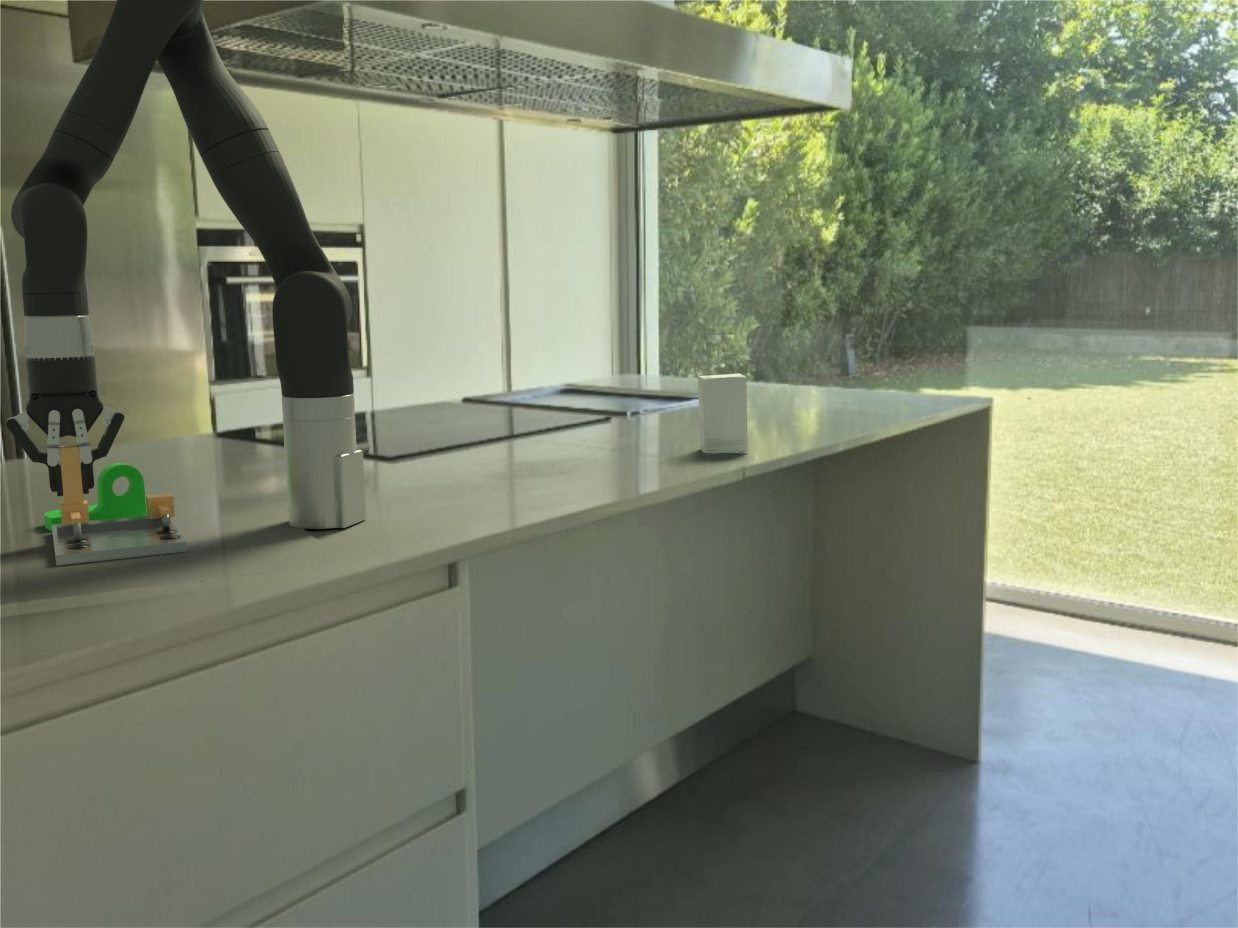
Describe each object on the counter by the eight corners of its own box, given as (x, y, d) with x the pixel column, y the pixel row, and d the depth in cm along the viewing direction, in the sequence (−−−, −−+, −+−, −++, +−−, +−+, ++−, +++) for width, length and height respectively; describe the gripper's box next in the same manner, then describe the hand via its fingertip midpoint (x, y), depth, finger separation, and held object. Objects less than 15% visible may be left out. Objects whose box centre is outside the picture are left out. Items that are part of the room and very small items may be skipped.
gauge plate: (168, 522, 151) (165, 486, 151) (187, 551, 134) (184, 510, 133) (52, 533, 145) (49, 496, 144) (56, 565, 127) (52, 523, 127)
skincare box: (742, 453, 209) (742, 373, 207) (748, 457, 203) (749, 375, 201) (697, 454, 208) (697, 374, 206) (702, 459, 202) (702, 376, 200)
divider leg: (88, 527, 142) (81, 444, 140) (92, 538, 135) (84, 452, 133) (62, 529, 140) (54, 446, 139) (64, 541, 133) (56, 454, 132)
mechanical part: (132, 514, 159) (127, 458, 157) (147, 520, 154) (142, 462, 153) (39, 526, 151) (34, 467, 150) (52, 533, 146) (46, 472, 145)
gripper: (120, 350, 143) (131, 484, 146) (-5, 354, 137) (9, 494, 139) (125, 352, 136) (136, 493, 139) (-6, 357, 130) (8, 504, 133)
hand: (72, 493), depth 139 cm, fingers closed on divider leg, 2 cm apart
